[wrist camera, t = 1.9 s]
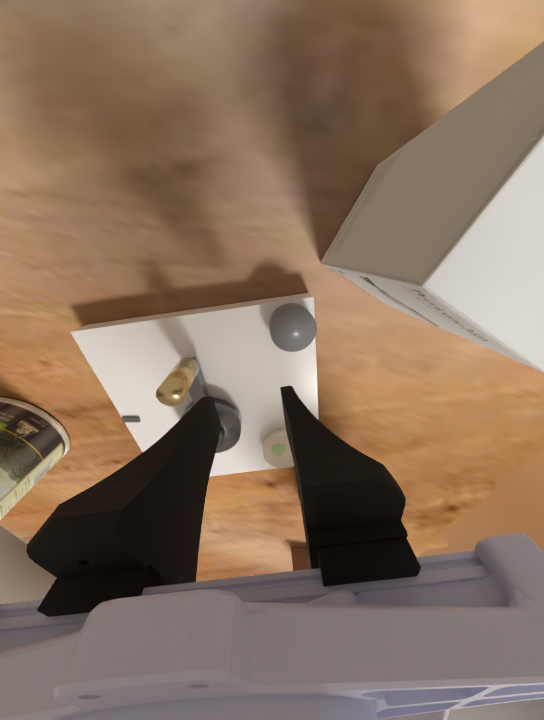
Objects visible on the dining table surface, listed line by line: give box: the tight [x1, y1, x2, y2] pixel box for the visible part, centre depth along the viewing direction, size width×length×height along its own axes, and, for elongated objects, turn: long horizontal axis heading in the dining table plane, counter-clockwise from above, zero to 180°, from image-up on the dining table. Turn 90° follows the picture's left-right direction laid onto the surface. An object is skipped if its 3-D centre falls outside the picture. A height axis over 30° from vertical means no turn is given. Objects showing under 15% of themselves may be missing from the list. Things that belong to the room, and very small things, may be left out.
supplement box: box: [321, 42, 544, 372], centre depth 11 cm, size 7×7×13 cm
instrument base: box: [71, 293, 319, 476], centre depth 22 cm, size 20×20×4 cm
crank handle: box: [156, 357, 242, 453], centre depth 18 cm, size 11×6×5 cm, turn 8°
